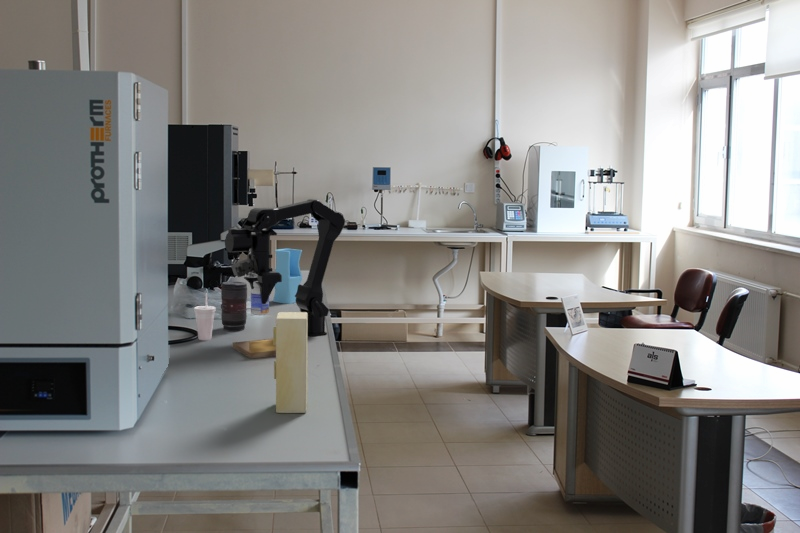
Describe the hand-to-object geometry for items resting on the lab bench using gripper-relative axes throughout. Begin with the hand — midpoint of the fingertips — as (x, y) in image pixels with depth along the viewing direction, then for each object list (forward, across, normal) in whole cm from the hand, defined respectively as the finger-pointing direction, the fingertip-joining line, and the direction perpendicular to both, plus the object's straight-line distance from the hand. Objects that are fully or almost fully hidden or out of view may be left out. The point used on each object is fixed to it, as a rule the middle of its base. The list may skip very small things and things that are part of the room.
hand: (260, 302), depth 239 cm
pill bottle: (+4, 0, 0) cm, 4 cm away
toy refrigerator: (+12, +64, -19) cm, 68 cm away
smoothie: (+12, -9, -14) cm, 21 cm away
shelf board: (+12, +12, -3) cm, 17 cm away
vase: (+12, -58, +35) cm, 69 cm away
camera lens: (+12, -19, -1) cm, 22 cm away
